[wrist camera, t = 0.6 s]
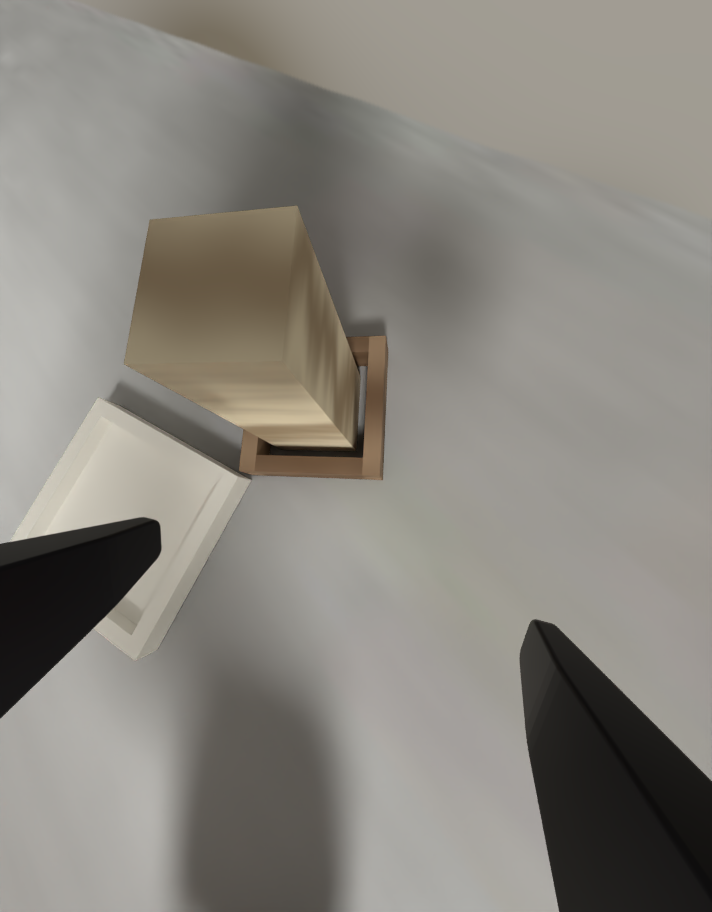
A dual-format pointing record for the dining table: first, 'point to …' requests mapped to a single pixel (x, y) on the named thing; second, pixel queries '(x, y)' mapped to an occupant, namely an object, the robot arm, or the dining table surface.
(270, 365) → the tan wooden block
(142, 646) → the tray
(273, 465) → the walnut collar
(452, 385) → the dining table surface
